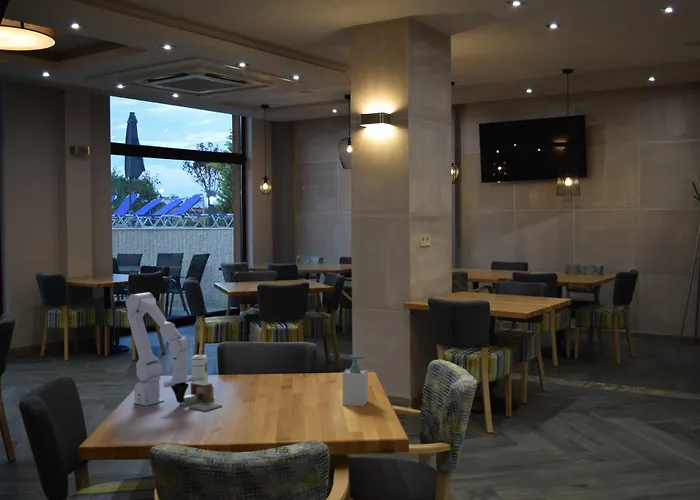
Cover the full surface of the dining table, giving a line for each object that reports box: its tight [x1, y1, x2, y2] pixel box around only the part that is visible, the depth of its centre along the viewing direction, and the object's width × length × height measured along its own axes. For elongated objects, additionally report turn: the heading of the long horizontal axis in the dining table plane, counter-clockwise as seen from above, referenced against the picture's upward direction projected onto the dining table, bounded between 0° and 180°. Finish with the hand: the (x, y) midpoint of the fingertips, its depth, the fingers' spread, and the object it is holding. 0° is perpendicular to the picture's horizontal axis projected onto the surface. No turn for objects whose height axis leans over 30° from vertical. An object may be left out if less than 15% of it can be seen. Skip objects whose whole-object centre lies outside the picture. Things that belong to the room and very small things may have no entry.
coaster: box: [188, 401, 223, 413], centre depth 282 cm, size 9×9×1 cm
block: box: [196, 385, 215, 402], centre depth 296 cm, size 5×5×5 cm
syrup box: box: [190, 354, 209, 383], centre depth 313 cm, size 6×6×14 cm
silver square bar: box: [178, 392, 204, 407], centre depth 289 cm, size 10×3×3 cm, turn 145°
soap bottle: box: [341, 355, 369, 407], centre depth 287 cm, size 9×9×19 cm
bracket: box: [190, 381, 213, 403], centre depth 294 cm, size 4×8×7 cm, turn 56°
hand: (179, 402), depth 285 cm, fingers closed
